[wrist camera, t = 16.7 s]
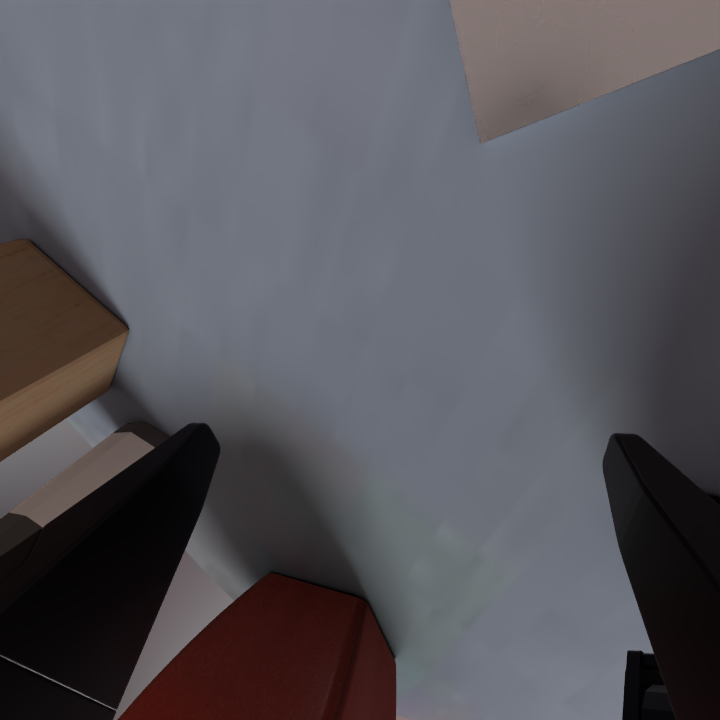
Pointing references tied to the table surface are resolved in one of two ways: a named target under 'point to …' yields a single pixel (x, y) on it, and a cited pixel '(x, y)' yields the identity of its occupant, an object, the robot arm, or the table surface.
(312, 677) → the plant pot
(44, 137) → the table surface
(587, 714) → the table surface
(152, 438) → the wine bottle
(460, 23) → the rail base
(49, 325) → the wooden block
